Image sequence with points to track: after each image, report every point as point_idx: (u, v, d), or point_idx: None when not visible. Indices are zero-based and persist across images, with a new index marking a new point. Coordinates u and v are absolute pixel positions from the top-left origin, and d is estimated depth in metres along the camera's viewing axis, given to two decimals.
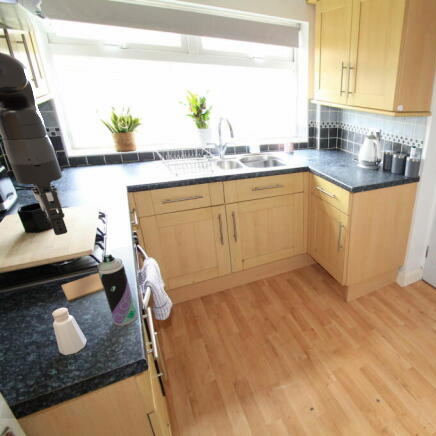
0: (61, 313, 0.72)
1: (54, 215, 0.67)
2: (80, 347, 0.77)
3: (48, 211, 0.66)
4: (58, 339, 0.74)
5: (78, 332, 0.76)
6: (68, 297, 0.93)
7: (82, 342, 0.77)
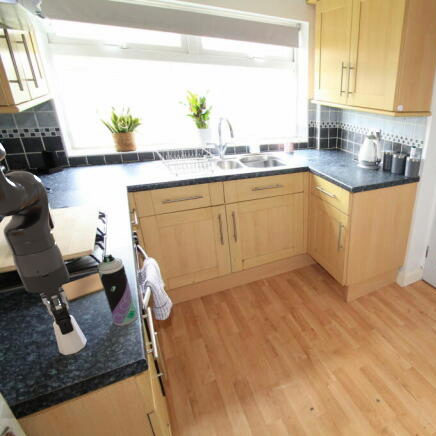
0: None
1: (61, 320, 0.69)
2: (80, 347, 0.77)
3: (57, 320, 0.68)
4: (58, 339, 0.74)
5: (78, 332, 0.76)
6: (68, 297, 0.93)
7: (82, 342, 0.77)
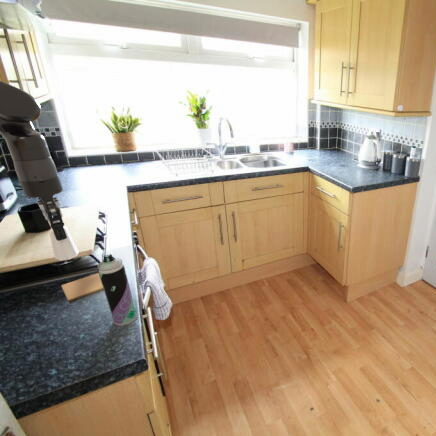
0: (56, 221, 0.84)
1: (55, 224, 0.81)
2: (73, 255, 0.88)
3: (51, 223, 0.80)
4: (53, 245, 0.85)
5: (71, 242, 0.87)
6: (68, 297, 0.93)
7: (74, 251, 0.88)
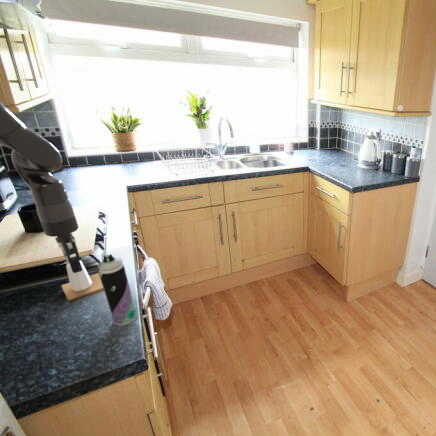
0: None
1: (73, 259, 0.88)
2: (87, 286, 0.97)
3: (68, 256, 0.87)
4: (70, 278, 0.95)
5: (85, 274, 0.97)
6: (68, 297, 0.93)
7: (88, 282, 0.97)
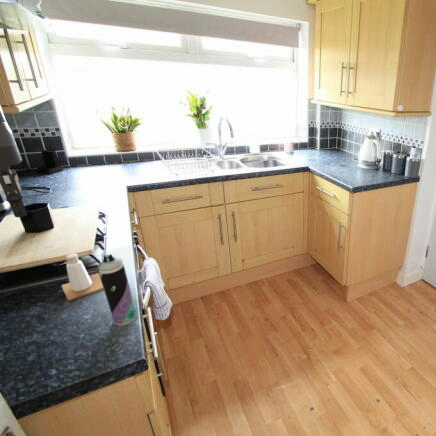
0: (72, 257, 0.93)
1: (12, 197, 0.70)
2: (87, 286, 0.97)
3: (6, 193, 0.69)
4: (70, 278, 0.95)
5: (85, 274, 0.97)
6: (68, 297, 0.93)
7: (88, 282, 0.97)
